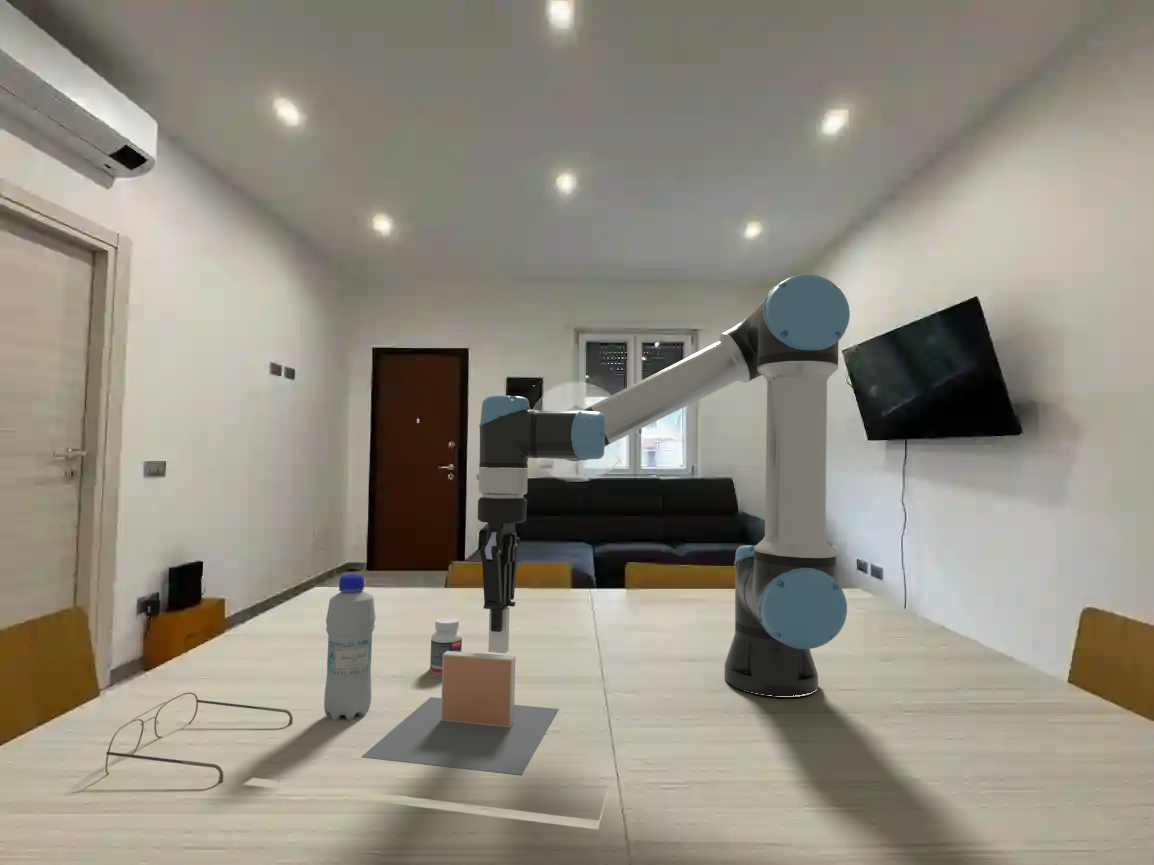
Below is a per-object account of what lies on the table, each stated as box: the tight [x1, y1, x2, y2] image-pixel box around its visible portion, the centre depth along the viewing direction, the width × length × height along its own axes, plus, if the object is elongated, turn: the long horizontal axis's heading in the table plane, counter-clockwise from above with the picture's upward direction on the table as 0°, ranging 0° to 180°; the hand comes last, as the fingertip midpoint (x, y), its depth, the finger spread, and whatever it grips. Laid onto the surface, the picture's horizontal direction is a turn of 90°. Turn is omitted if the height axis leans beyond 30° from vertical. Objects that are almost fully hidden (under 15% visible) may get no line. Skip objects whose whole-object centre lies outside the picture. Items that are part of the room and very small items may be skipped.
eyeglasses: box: [104, 691, 294, 784], centre depth 78 cm, size 16×15×5 cm
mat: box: [360, 696, 560, 776], centre depth 83 cm, size 20×20×1 cm
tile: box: [441, 651, 516, 727], centre depth 86 cm, size 10×2×9 cm, turn 79°
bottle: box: [323, 573, 376, 721], centre depth 89 cm, size 7×7×20 cm
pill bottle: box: [429, 617, 463, 675], centre depth 108 cm, size 5×5×9 cm
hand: (498, 651), depth 95 cm, fingers closed
